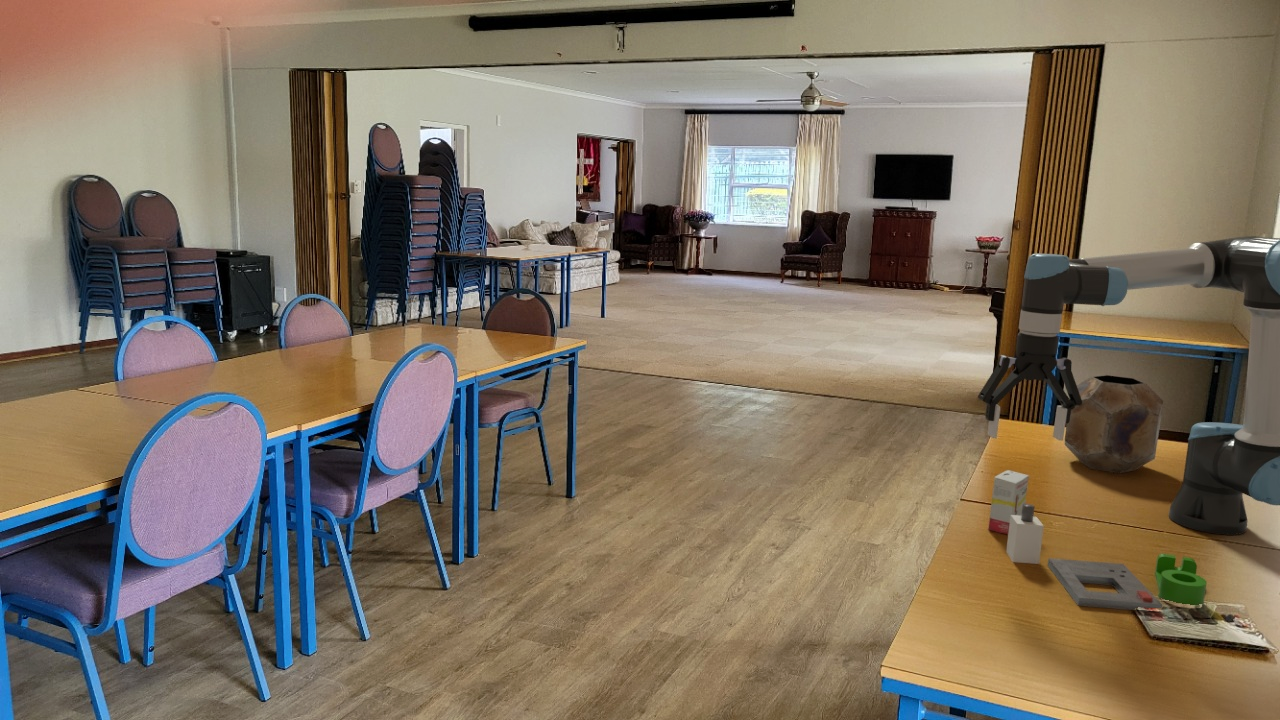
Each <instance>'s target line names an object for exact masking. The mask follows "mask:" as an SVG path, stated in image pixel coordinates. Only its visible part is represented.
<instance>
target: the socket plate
mask: <svg viewBox="0 0 1280 720" xmlns="http://www.w3.org/2000/svg"><path fill="white" fill-rule="evenodd" d="M1047 566H1048V568H1049V569H1050V570H1051V572H1052V573H1053V574H1054V576H1055V577H1056V578H1057V580H1058V581H1059V583H1060V584H1061V586H1062V587H1063V588H1064V589H1065V591H1067V593H1068V594H1069V596H1070V597H1071V598H1072V599H1073V601H1074V602H1075V603H1076V605H1077V606H1079V607H1091V608H1101V609H1102V608H1104V609H1115V610H1124V611H1126V610H1129V611H1135V610H1134V609H1135V608H1138V607H1146V608H1163V607H1162V606H1163V604H1162V603H1161V601H1159V600H1158V598H1156V596H1155V595H1153V593H1152V592H1151V591H1150V590H1149V589H1148V588H1147V587H1146V586H1145V585H1144V584H1143V583H1142V581H1140V580H1139V579H1138V577H1137V576H1136V575H1134V574H1133V572H1132V571H1131V570H1130V569H1129V568H1128V567H1127V565H1125V564H1124V563H1114V562H1102V561H1101V562H1099V561H1091V560H1090V561H1089V560H1077V559H1075V560H1074V559H1064V558H1049V557H1048V561H1047ZM1083 584H1088V585H1089V584H1090V585H1102V586H1112V587H1113V588H1114V590H1116V591H1117V592H1110V591H1109V592H1108V591H1097V590H1095V591H1094V590H1087V589H1086V587H1085V586H1084V585H1083Z"/></svg>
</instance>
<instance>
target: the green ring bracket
mask: <svg viewBox="0 0 1280 720" xmlns="http://www.w3.org/2000/svg"><path fill="white" fill-rule="evenodd" d="M1176 558H1177V557H1176V555H1174V554H1169V553H1167V554H1166V553H1160V554H1159V555H1157V558H1156V564H1155V571H1154V575H1155V580H1156V585H1157V589H1158V598H1159V599H1160V598H1162V599H1165V600H1169V601H1173V602H1176V603H1182V604H1190V605H1199V604H1203V605H1204V603H1205V602H1204V601H1205V596H1206V595H1205V594H1206V591H1207V590H1206V589H1207V584H1208V583H1207V580H1206V579H1205V578H1203V577H1202V576H1200V575H1197V568H1198V566H1197V563H1196V561H1195V558H1192V557H1185V556H1183V557H1182V560H1181V566H1179V567H1177V566H1176V560H1177V559H1176Z"/></svg>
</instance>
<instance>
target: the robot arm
mask: <svg viewBox="0 0 1280 720" xmlns="http://www.w3.org/2000/svg"><path fill="white" fill-rule="evenodd" d="M1023 277H1024V282H1023V288H1022V289H1023V290H1022V296H1021V297H1022V299H1021V307H1020V315H1019V322H1018V323H1019V324H1018V330H1020V332H1018V333H1017V338H1016V346H1015V355H1014V357H1009V356H1006V355H1003V354H1000V355H999V356H998V360H997V363H996V367H995V368H994V369H993V371H992V373H991V375H990V376H989V378H988V379H987V381H986V383H985V384H984V386H983V387H982V389H981V390H980V392H979V393H978V395H977V398H978V400H980V401H982V402H983V403H986V407H985V408H986V410H985V415H984V417H985V420H987V421H988V426H987V436H988V437H990V438H991V439H997V438H998V429H999V422H1000V414H1001V406H1000V405H998V404H999V403H1000V402H1001V401H1002V400H1003V399H1004V398H1005V397H1006V395H1009V393H1010V392H1011V391H1012V390H1013V389H1014V387H1016V386H1017V385H1019V383H1021V382H1022V381H1023V380H1026V381H1035V380H1036V381H1041V382H1042V381H1045V383H1046V384H1047V385H1048V386H1049V388H1050V390H1051V392H1052V393H1053V395H1055V397H1056V398H1057V400H1058V402H1059V403H1060V405H1056V410H1055V411H1056V412H1055V419H1054V427H1053V433H1052V437H1053V438H1054V439H1056V440H1058V441H1060V442H1061V441H1064V438H1065V431H1066V424H1067V423H1069V421H1070V415H1071V409H1074V408H1075V406H1077V405H1081V404H1082V399H1081V397H1080V394H1079V391H1078V388H1077V385H1078V384H1077V382H1076V381H1075V377H1074V374H1073V372H1072V365H1073V364H1072V363H1073V362H1072V359H1069V358H1067V357H1065V356H1064V357H1063V356H1062V357H1060V358H1057V357H1056V356H1057V353H1058V348H1059V341H1060V337H1059V336H1058V334H1060V332H1061V325H1062V317H1063V311H1064V305H1065V304H1066V305H1088V306H1089V305H1090V306H1101V307H1105V306H1116V305H1119V304H1120V303H1122V302H1123V301H1124V299H1125V298H1126V296H1127V294H1128V291H1131V290H1143V289H1151V288H1162V287H1163V288H1164V287H1174V286H1182V285H1183V286H1185V285H1189V286H1190V287H1192V288H1196V289H1204V288H1215V289H1223V290H1230V291H1234V292H1235V291H1236V292H1239V293H1243V308H1244V309H1246V310H1247V311H1248V312H1249V313H1250V315H1251V317H1250V331H1249V332H1250V333H1249V345H1248V357H1247V358H1248V360H1247V361H1248V362H1247V375H1246V388H1245V389H1246V390H1245V401H1244V403H1245V404H1244V418H1243V424H1236V423H1227V422H1214V421H1213V422H1211V421H1209V422H1208V421H1207V422H1205V421H1203V422H1197V423H1195V424H1194V425H1192V426H1191V429H1190V434H1189V437H1188V438H1187V441H1188V443H1187V449H1186V454H1185V455H1186V457H1185V464H1184V473H1183V479H1182V485H1181V487H1180V488H1179V490H1178V492H1177V493H1176V495H1175V497H1174V499H1173V501H1172V503H1171V504H1170V507H1169V509H1168V510H1169V512H1168V518H1169V519H1170V520H1172V521H1173V522H1174V523H1176V524H1177V525H1180V526H1183V527H1185V528H1189V529H1192V530H1195V531H1199V532H1204V533H1209V534H1216V535H1226V536H1228V535H1229V536H1231V535H1233V536H1234V535H1235V536H1236V535H1241V534H1244V533H1246V531H1247V528H1248V527H1247V526H1248V523H1249V521H1248V515H1247V512H1246V511H1247V510H1246V506H1245V501H1244V497H1243V495H1246V496H1248V497H1251V499H1253V500H1255V501H1257V502H1261V503H1265V504H1268V505H1271V506H1280V238H1278V237H1263V236H1262V237H1261V236H1254V235H1251V236H1249V235H1247V236H1238V237H1237V236H1236V237H1230V238H1224V239H1223V238H1222V239H1217V240H1210V241H1209V240H1208V241H1204V242H1194V243H1192V244H1189V246H1188V247H1187V248H1180V249H1168V250H1159V251H1147V252H1136V253H1127V254H1114V255H1104V256H1103V255H1101V256H1093V257H1082V258H1071V259H1070V258H1069V257H1068V255H1064V254H1055V253H1039V252H1037V253H1032V254H1031V255H1029V257H1028V258H1027V263H1026V267H1025V271H1024V275H1023ZM1012 365H1013V366H1014V369H1013V370H1012V371H1010V373H1009V375H1008V377H1007V378H1005V379H1004V381H1003V382H1001V381H1002V380H1003V378H1004V377H1005V375H1006V374H1007V371H1008V370H1009V368H1011V367H1012ZM1056 367H1057V369H1058V370H1059V372H1060V375H1061V378H1062V381H1063V383H1064V386H1065V390H1066V392H1067V393H1066V392H1065V390H1064V389H1063V388H1062V386H1061V384H1060V383H1059V381H1058V380H1057V377H1056V376H1055V375H1054V373H1053V371H1054V369H1056Z"/></svg>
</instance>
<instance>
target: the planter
mask: <svg viewBox="0 0 1280 720" xmlns="http://www.w3.org/2000/svg"><path fill="white" fill-rule="evenodd" d="M1076 385H1077V388H1078V391H1079V394H1080V397H1081V399H1082V404H1081V405H1077V406H1075V408H1074V409H1071V415H1070V421H1069V423H1065V432H1064V445H1065V447H1066V448H1067V449H1068V450H1069V451H1070V452H1071V453H1072V454H1073V455H1074V456H1075V457H1076V459H1077V460H1078V461H1079V462H1080V463H1082V464H1083V465H1085V466H1086V467H1087V468H1089V469H1091V470H1095V469H1096V471H1101V470H1102V472H1107V471H1109V472H1108V473H1113V472H1114V473H1113V474H1123V473H1124V474H1125V473H1128V472H1134V471H1136V470H1138V469H1140V468H1141V467H1143V466H1145V465H1146V464H1148V463H1150V462H1151V461H1153V460H1155V459H1156V455H1157V454H1156V453H1157V447H1158V440H1159V435H1160V434H1159V433H1160V428H1161V427H1160V426H1161V419H1162V414H1163V407H1164V400H1163V399H1162V398H1161V397H1160V395H1158V394H1157V393H1156V392H1155V391H1154V390H1153V389H1152V388H1151V387H1150V385H1148V383H1145V382H1144V381H1141V380H1138V379H1136V378H1134V377H1127V376H1126V377H1125V376H1119V375H1118V376H1117V375H1109V374H1104V375H1103V374H1102V375H1095V376H1090V377H1088V378H1087V379H1085V380H1084V381H1082V382H1080V383H1079V384H1076Z"/></svg>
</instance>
